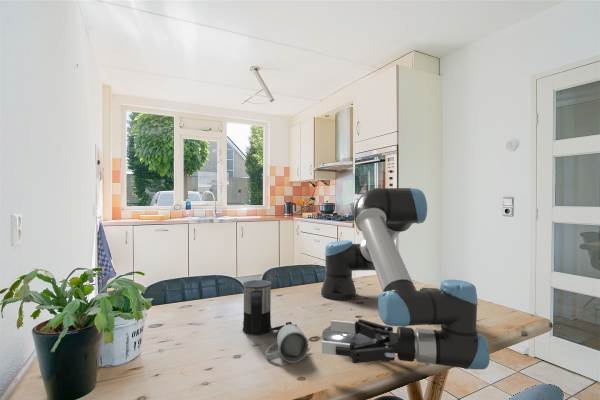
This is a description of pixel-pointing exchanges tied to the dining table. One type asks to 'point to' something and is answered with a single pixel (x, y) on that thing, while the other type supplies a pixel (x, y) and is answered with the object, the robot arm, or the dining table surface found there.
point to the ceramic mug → (289, 345)
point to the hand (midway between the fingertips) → (326, 335)
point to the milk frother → (258, 308)
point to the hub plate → (344, 337)
